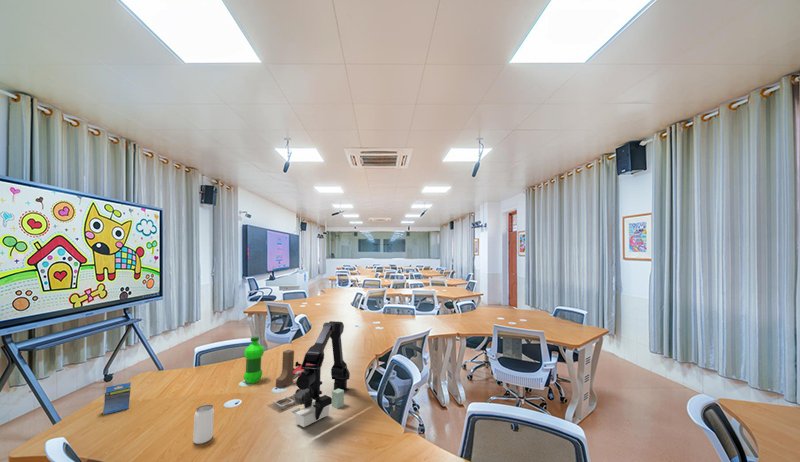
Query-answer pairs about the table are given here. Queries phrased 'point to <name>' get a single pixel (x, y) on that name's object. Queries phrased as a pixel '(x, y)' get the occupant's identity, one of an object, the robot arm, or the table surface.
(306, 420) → the cover
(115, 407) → the label tape box
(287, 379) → the wooden block
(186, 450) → the table surface
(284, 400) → the build board
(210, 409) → the can
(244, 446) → the table surface
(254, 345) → the plastic bottle
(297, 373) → the red board with handle
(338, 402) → the peg
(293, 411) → the board
